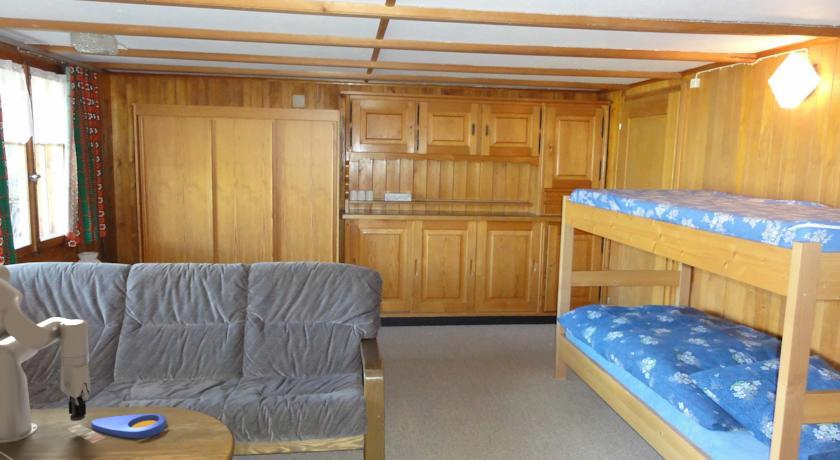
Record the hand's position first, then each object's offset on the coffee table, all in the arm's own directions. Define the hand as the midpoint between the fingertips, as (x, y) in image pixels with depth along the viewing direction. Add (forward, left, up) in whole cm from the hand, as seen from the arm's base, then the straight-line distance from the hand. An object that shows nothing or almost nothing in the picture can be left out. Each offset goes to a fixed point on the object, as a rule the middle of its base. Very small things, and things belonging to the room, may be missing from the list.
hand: (77, 413), depth 190 cm
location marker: (+10, +10, -8) cm, 16 cm away
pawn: (0, 0, -2) cm, 1 cm away
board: (+3, +1, -7) cm, 7 cm away
